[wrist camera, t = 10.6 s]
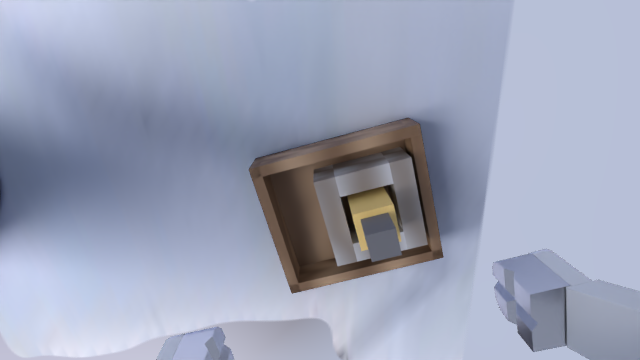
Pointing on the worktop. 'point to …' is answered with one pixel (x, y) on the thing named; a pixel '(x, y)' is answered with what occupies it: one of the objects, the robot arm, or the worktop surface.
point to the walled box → (346, 202)
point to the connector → (375, 223)
